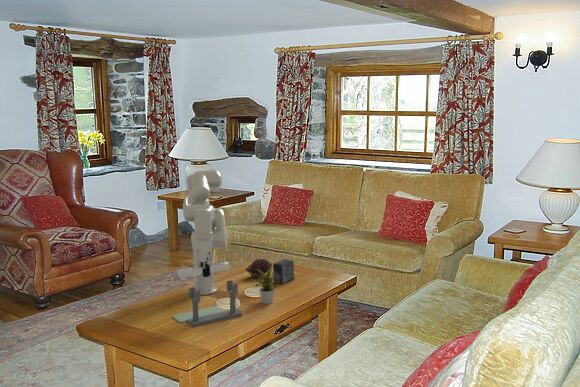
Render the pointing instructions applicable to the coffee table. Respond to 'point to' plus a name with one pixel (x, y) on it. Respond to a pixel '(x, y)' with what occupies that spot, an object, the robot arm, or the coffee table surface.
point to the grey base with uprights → (216, 317)
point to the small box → (283, 271)
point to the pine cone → (259, 267)
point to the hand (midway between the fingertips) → (204, 275)
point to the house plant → (266, 287)
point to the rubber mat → (199, 313)
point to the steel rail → (199, 270)
